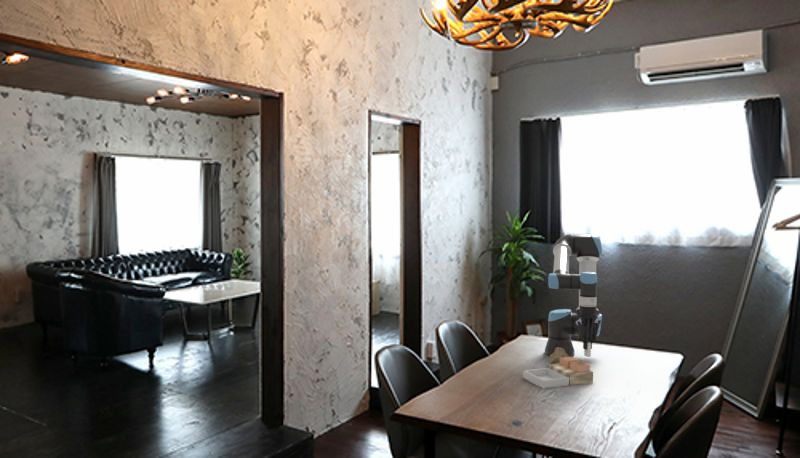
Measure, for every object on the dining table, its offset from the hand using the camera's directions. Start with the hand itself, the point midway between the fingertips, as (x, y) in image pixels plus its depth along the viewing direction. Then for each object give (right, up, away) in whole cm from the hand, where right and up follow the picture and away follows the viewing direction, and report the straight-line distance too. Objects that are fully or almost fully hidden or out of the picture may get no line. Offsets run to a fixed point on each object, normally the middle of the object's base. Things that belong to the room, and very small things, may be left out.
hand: (587, 356), depth 267 cm
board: (-10, -9, -7) cm, 15 cm away
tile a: (-9, -4, -3) cm, 10 cm away
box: (-22, -9, -11) cm, 26 cm away
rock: (-12, -8, +9) cm, 17 cm away
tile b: (-7, -4, -10) cm, 13 cm away
